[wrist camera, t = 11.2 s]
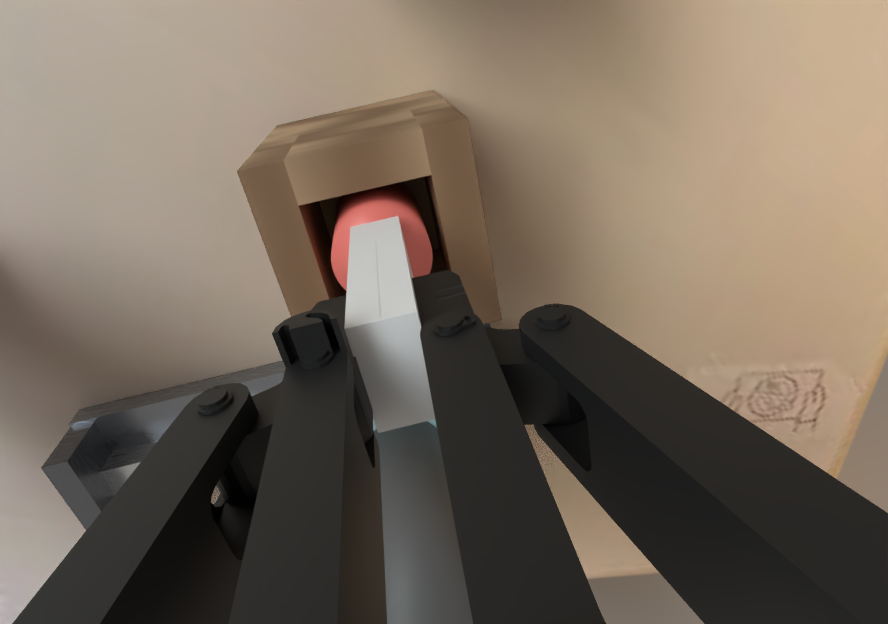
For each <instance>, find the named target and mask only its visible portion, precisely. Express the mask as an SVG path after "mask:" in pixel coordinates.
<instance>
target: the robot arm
mask: <svg viewBox="0 0 888 624" xmlns="http://www.w3.org/2000/svg"><path fill="white" fill-rule="evenodd" d="M272 335H273V337H274V340H275V342H276V345H277V347H278V350H279V352H280V355H281V357H282V360H283V362H284V365H285V372H284V376H283V381H282V382H281V383H279V384H278V385H276V386H274V387H272V388H270V389H267V390H265V391H263V392H260V393H258V394H256V395H253V396H251V394H250V392H249V390H248V387H247V386H245V385H243V384H241V383H228V384H223V385H217V386H214V387H213V388H209V389H207V390H205V391H203V393H201V394H200V395H198V396H196V397H195V398H193V399H192V400H191V401H190V402H189V403H188V404H187V405H186V406H185V407H184V409H183V410H182V411H181V412H180V414H179V415H178V416H177V417H176V419H175V420H174V421H173V422H172V424H171V425H170V426H169V427H168V429H167V430H166V431H165V432H164V434H163V435H162V436H161V437H160V439H159V440H158V441H157V443H156V444H155V445H154V446H153V448H152V449H151V450H150V451H149V453H148V454H147V455H146V456H145V458H144V459H143V460H142V461H141V463H140V464H139V465H138V466H137V468H136V469H135V470H134V471H133V473H132V474H131V475H130V476H129V478H128V479H127V480H126V482H125V483H124V484H123V485H122V487H121V488H120V489H119V490H118V492H117V493H116V494H115V495H114V497H113V498H112V499H111V500H110V502H109V503H108V504H107V505H106V507H105V508H104V509H103V510H102V512H101V513H100V514H99V515H98V517H97V518H96V519H95V521H94V522H93V523H92V524H91V526H90V527H89V528H88V529H87V531H86V532H85V533H84V534H83V536H82V537H81V538H80V539H79V541H78V542H77V543H76V544H75V546H74V547H73V548H72V549H71V551H70V552H69V553H68V554H67V556H66V557H65V558H64V560H63V561H62V562H61V563H60V565H59V566H58V567H57V568H56V570H55V571H54V572H53V573H52V575H51V576H50V577H49V578H48V580H47V581H46V582H45V583H44V585H43V586H42V587H41V588H40V590H39V591H38V592H37V593H36V595H35V596H34V597H33V599H32V600H31V601H30V602H29V604H28V605H27V606H26V607H25V609H24V610H23V611H22V612H21V614H20V615H19V616H18V617H17V619H16V620H15V621H14V622H13V624H387V606H386V584H385V562H384V540H383V518H382V497H381V475H380V453H379V445H378V442H377V439H376V436H375V433H374V430H373V419H374V422H375V425H376V428H377V431H378V433H380V432H384V431H389V430H393V429H397V428H401V427H405V426H409V425H413V424H417V423H421V422H425V421H430V420H434V419H435V420H436V425H437V431H438V436H439V442H440V447H441V452H442V458H443V463H444V469H445V474H446V479H447V485H448V490H449V496H450V501H451V506H452V512H453V517H454V523H455V528H456V533H457V539H458V544H459V550H460V555H461V560H462V566H463V571H464V577H465V582H466V587H467V593H468V598H469V604H470V609H471V614H472V620H473V624H606V623H605V621H604V619H603V617H602V614H601V612H600V610H599V607H598V605H597V602H596V600H595V598H594V595H593V593H592V590H591V588H590V585H589V583H588V580H587V578H586V575H585V573H584V571H583V568H582V566H581V563H580V561H579V558H578V556H577V553H576V551H575V549H574V546H573V544H572V541H571V539H570V536H569V534H568V531H567V529H566V526H565V524H564V522H563V519H562V517H561V514H560V512H559V509H558V507H557V504H556V502H555V500H554V497H553V495H552V492H551V490H550V487H549V485H548V482H547V480H546V477H545V475H544V473H543V470H542V468H541V465H540V463H539V460H538V458H537V455H536V453H535V450H534V448H533V446H532V443H531V441H530V438H529V436H528V433H527V431H526V428H525V426H524V425H530V424H534V427H535V429H536V431H537V433H538V435H539V436H540V437H541V439H542V440H543V441H544V442H545V443H546V444H547V445H548V446H549V448H550V449H551V450H552V451H553V452H554V453H555V454H556V456H557V457H558V458H559V459H560V460H561V461H562V462H563V464H564V465H565V466H566V467H567V468H568V469H569V470H570V471H571V473H572V474H573V475H574V476H575V477H576V478H577V479H578V481H579V482H580V483H581V484H582V485H583V486H584V487H585V488H586V490H587V491H588V492H589V493H590V494H591V495H592V496H593V498H594V499H595V500H596V501H597V502H598V503H599V504H600V506H601V507H602V508H603V509H604V510H605V511H606V512H607V513H608V515H609V516H610V517H611V518H612V519H613V520H614V521H615V523H616V524H617V525H618V526H619V527H620V528H621V529H622V530H623V532H624V533H625V534H626V535H627V536H628V537H629V538H630V540H631V541H632V542H633V543H634V544H635V545H636V546H637V548H638V549H639V550H640V551H641V552H642V553H643V554H644V555H645V557H646V558H647V559H648V560H649V561H650V562H651V563H652V565H653V566H654V567H655V568H656V569H657V570H658V571H659V572H660V574H661V575H662V576H663V577H664V578H665V579H666V580H667V582H668V583H669V584H670V585H671V586H672V587H673V588H674V589H675V591H676V592H677V593H678V594H679V595H680V596H681V597H682V599H683V600H684V601H685V602H686V603H687V604H688V605H689V607H690V608H691V609H692V610H693V611H694V612H695V613H696V614H697V616H699V618H700V619H701V620H702V621H703V622H704V624H888V513H887V512H885V511H884V510H882V509H881V508H879V507H878V506H876V505H875V504H873V503H871V502H870V501H869V500H867V499H865V498H864V497H862V496H861V495H859V494H858V493H856V492H855V491H853V490H852V489H850V488H849V487H847V486H845V485H844V484H843V483H841V482H840V481H838V480H837V479H835V478H834V477H832V476H831V475H829V474H828V473H826V472H825V471H823V470H822V469H820V468H819V467H817V466H816V465H814V464H813V463H811V462H810V461H808V460H807V459H805V458H804V457H802V456H801V455H799V454H798V453H796V452H795V451H793V450H792V449H790V448H789V447H787V446H786V445H784V444H783V443H781V442H780V441H778V440H777V439H775V438H774V437H772V436H771V435H769V434H768V433H766V432H765V431H763V430H762V429H760V428H759V427H757V426H756V425H754V424H752V423H751V422H749V421H748V420H746V419H745V418H743V417H742V416H740V415H739V414H737V413H736V412H734V411H733V410H731V409H730V408H728V407H727V406H725V405H724V404H722V403H721V402H719V401H718V400H716V399H715V398H713V397H712V396H710V395H709V394H707V393H706V392H704V391H703V390H701V389H700V388H698V387H697V386H695V385H694V384H692V383H691V382H689V381H688V380H686V379H685V378H683V377H682V376H680V375H679V374H677V373H676V372H674V371H673V370H671V369H670V368H668V367H667V366H665V365H664V364H662V363H661V362H659V361H658V360H656V359H655V358H653V357H652V356H650V355H649V354H647V353H646V352H644V351H643V350H641V349H639V348H638V347H636V346H635V345H633V344H632V343H630V342H629V341H627V340H626V339H624V338H623V337H621V336H620V335H618V334H617V333H615V332H614V331H612V330H611V329H609V328H608V327H606V326H605V325H603V324H602V323H600V322H599V321H597V320H596V319H594V318H593V317H591V316H590V315H588V314H587V313H585V312H584V311H582V310H581V309H578V308H576V307H574V306H570V305H563V304H553V305H552V304H548V305H544V306H542V307H538V308H535V309H533V310H531V311H529V312H527V313H526V314H525V315H524V316H523V317H522V318H521V319H520V323H519V329H509V330H506V329H493V328H489V327H486V326H484V325H483V323H482V321H481V319H480V318H479V317H478V316H477V315H475V314H474V312H473V309H472V307H471V304H470V302H469V299H468V297H467V294H466V292H465V289H464V287H463V284H462V282H461V279H460V277H459V275H457V274H456V273H454V272H452V271H450V270H444V271H440V272H436V273H432V274H427V275H423V276H419V277H415V278H413V274H412V270H411V266H410V262H409V258H408V254H407V250H406V245H405V241H404V237H403V233H402V229H401V225H400V221H399V217H398V216H395V217H391V218H387V219H382V220H378V221H374V222H370V223H365V224H361V225H357V226H352V227H350V242H349V259H348V276H347V293H346V295H345V296H341V297H336V298H332V299H328V300H324V301H319V302H318V303H317V304H316V305H315V306H314V307H313V308H312V309H311V310H310V311H306V312H303V313H300V314H297V315H294V316H292V317H290V318H288V319H286V320H284V321H283V322H282V323H281V324H279V325H278V326H277V327H276V328H275V330H274V331H273V333H272ZM215 486H217V488H218V490H219V492H220V493H221V494H220V496H219V498H218V499H217V501H216V503H215V504H214V505H213V504H212V503H211V496H212V494H213V491H214V488H215Z"/></svg>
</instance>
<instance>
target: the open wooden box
mask: <svg viewBox="0 0 888 624" xmlns="http://www.w3.org/2000/svg"><path fill="white" fill-rule="evenodd" d="M237 173H238V175H239V178H240V181H241V183H242V186H243V189H244V192H245V194H246V197H247V200H248V202H249V205H250V208H251V210H252V213H253V216H254V218H255V221H256V224H257V226H258V229H259V232H260V234H261V237H262V240H263V242H264V245H265V248H266V251H267V253H268V256H269V259H270V261H271V264H272V267H273V269H274V272H275V275H276V277H277V280H278V283H279V285H280V288H281V291H282V293H283V296H284V299H285V301H286V304H287V307H288V310H289V312H290V315H291V317H292V316H294V315H297V314H300V313H303V312H306V311H310V310H311V309H312V308H313V307H314V306H315V305H316V304H317V303H318V302H319V301H324V300H328V299H332V298H336V297H341V296H345V295H346V293H347V291H346V290H345V289H344V288H343V287H342V286H341V285H340V283H339V282H338V280H337V278H336V277H335V274H334V272H333V268H332V264H331V250H332V242H333V235H334V227H335V220H336V212H337V206H338V203H339V200H340V198H341V196H342V195H347V194H351V193H355V192H360V191H364V190H368V189H373V188H377V187H381V186H385V185H390V184H394V183H398V182H401V183H402V184H404V185H405V186H406V187H407V188H408V189H409V190H410V191H411V193H412V194H413V196H414V197H415V199H416V201H417V204H418V207H419V210H420V213H421V216H422V219H423V222H424V225H425V228H426V231H427V234H428V237H429V240H430V243H431V247H432V253H433V261H432V267H431V271H430V273H429V274H432V273H436V272H440V271H444V270H450V271H452V272H454V273H456V274H457V275H459V277H460V279H461V282H462V284H463V287H464V289H465V292H466V294H467V297H468V299H469V302H470V304H471V307H472V309H473V312H474V314H475V315H477V316H478V317H479V318H480V319H481V321H482V323H483V324H485V323H489V322H493V321H498V320H502V319H501V314H500V308H499V302H498V296H497V290H496V284H495V278H494V272H493V266H492V260H491V254H490V248H489V242H488V237H487V231H486V225H485V219H484V213H483V207H482V201H481V195H480V189H479V183H478V177H477V171H476V165H475V159H474V154H473V148H472V142H471V136H470V130H469V124H468V118H467V117H465V116H464V115H463V114H462V113H460V112H459V111H458V110H457V109H455V108H454V107H453V106H452V105H450V104H449V103H448V102H447V101H445V100H444V99H443V98H442V97H441V96H439V95H438V94H437V93H436V92H434V91H433V90H431V91H427V92H422V93H418V94H414V95H409V96H405V97H400V98H396V99H392V100H387V101H383V102H378V103H374V104H370V105H365V106H361V107H356V108H352V109H348V110H343V111H339V112H334V113H330V114H326V115H321V116H317V117H312V118H308V119H304V120H299V121H295V122H290V123H286V124H282V125H277V126H276V127H275V129H274V130H273V131H272V132H271V133H270V134H269V135H268V137H267V138H266V139H265V140H264V141H263V142H262V143H261V144H260V146H259V147H258V148H257V149H256V150H255V151H254V152H253V154H252V155H251V156H250V157H249V158H248V159H247V160H246V161H245V163H244V164H243V165H242V166H241V167H240V168H239V169H238V171H237Z"/></svg>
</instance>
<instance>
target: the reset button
mask: <svg viewBox="0 0 888 624" xmlns="http://www.w3.org/2000/svg"><path fill="white" fill-rule="evenodd" d="M395 216H398V217H399V221H400V225H401V229H402V233H403V237H404V241H405V245H406V250H407V254H408V258H409V262H410V266H411V270H412V274H413V278H415V277H419V276H423V275H427V274H429V273H430V271H431V267H432V261H433V253H432V247H431V243H430V240H429V237H428V234H427V231H426V228H425V225H424V222H423V219H422V216H421V213H420V210H419V207H418V204H417V201H416V199H415V197H414V196H413V194H412V193H411V191H410V190H409V189H408V188H407V187H406V186H405V185H404V184H402V183H401V182H398V183H394V184H390V185H385V186H381V187H377V188H373V189H368V190H364V191H360V192H355V193H351V194H347V195H342V196H341V198H340V200H339V203H338V206H337V212H336V220H335V227H334V235H333V242H332V250H331V264H332V268H333V272H334V274H335V277H336V278H337V280H338V282H339V283H340V285H341V286H342V287H343V288H344V289H345V290H346V291H347V276H348V259H349V242H350V227H352V226H357V225H361V224H365V223H370V222H374V221H378V220H382V219H387V218H391V217H395Z"/></svg>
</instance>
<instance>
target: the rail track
mask: <svg viewBox="0 0 888 624" xmlns="http://www.w3.org/2000/svg"><path fill="white" fill-rule="evenodd" d="M483 325H484V326H486V327H489V328H491V327H490V323H485V324H483ZM284 372H285V365H284V362H283V361H281V362H276V363H272V364H268V365H264V366H260V367H256V368H251V369H247V370H243V371H239V372H235V373H231V374H226V375H222V376H218V377H214V378H210V379H206V380H201V381H197V382H193V383H189V384H185V385H181V386H176V387H172V388H168V389H164V390H160V391H156V392H151V393H147V394H143V395H139V396H135V397H131V398H126V399H122V400H118V401H114V402H110V403H106V404H101V405H97V406H93V407H89V408H85V409H80V410H79V411H78V413H77V414H76V415H75V417H74V418H73V419H72V421H71V422H70V423H69V425H70V426H71V428H70V429H69V431H68V432H67V433H66V435H65V436H64V437H63V439H62V440H61V441H60V443H59V444H58V446H57V447H56V448H55V450H54V451H53V452H52V454H51V455H50V457H49V458H48V459H47V461H46V462H45V463H44V465H43V466H42V467H41V468H42V470H43V471H44V472H45V474H46V475H47V477H48V478H49V479H50V481H51V482H52V484H53V485H54V486H55V488H56V489H57V490H58V492H59V493H60V495H61V496H62V497H63V499H64V500H65V502H66V503H67V504H68V506H69V507H70V508H71V510H72V511H73V513H74V514H75V515H76V517H77V518H78V520H79V521H80V522H81V524H82V525H83V526H84V528H85V529H86V531H87V529H88V528H89V527H90V526H91V524H92V523H93V522H94V521H95V519H96V518H97V517H98V515H99V514H100V513H101V512H102V510H103V509H104V508H105V507H106V505H107V504H108V503H109V502H110V500H111V499H112V498H113V497H114V495H115V494H116V493H117V492H118V490H119V489H120V488H121V487H122V485H123V484H124V483H125V482H126V480H127V479H128V478H129V476H130V475H131V474H132V473H133V471H134V470H135V469H136V468H137V466H138V465H139V464H140V463H141V461H142V460H143V459H144V458H145V456H146V455H147V454H148V453H149V451H150V450H151V449H152V448H153V446H154V445H155V444H156V443H157V441H158V440H159V439H160V437H161V436H162V435H163V434H164V432H165V431H166V430H167V429H168V427H169V426H170V425H171V424H172V422H173V421H174V420H175V419H176V417H177V416H178V415H179V414H180V412H181V411H182V410H183V409H184V407H185V406H186V405H187V404H188V403H189V402H190V401H191V400H192V399H193V398H195V397H196V396H198V395H200V394H201V393H203V391H205V390H207V389H209V388H213V387H214V386H217V385H223V384H228V383H241V384H243V385H245V386H247V387H248V390H249V392H250V394H251V396H253V395H256V394H258V393H260V392H263V391H265V390H267V389H270V388H272V387H274V386H276V385H278V384H279V383H281V382H282V381H283V376H284Z"/></svg>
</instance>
